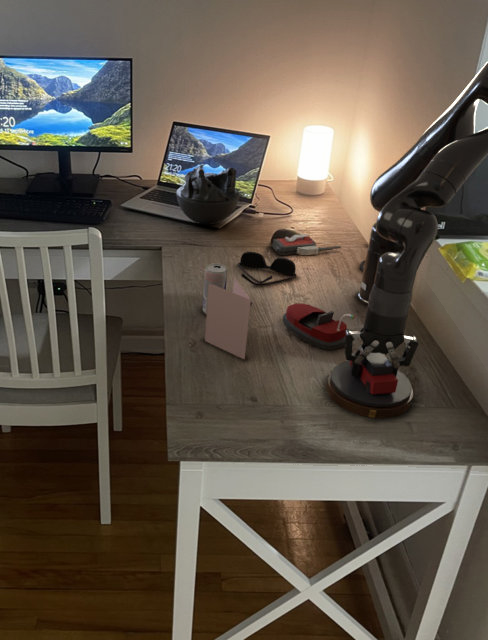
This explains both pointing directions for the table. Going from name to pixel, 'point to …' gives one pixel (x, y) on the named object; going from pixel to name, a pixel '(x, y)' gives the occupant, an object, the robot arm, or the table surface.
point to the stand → (366, 409)
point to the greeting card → (228, 318)
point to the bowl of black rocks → (208, 195)
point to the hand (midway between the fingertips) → (372, 378)
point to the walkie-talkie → (298, 245)
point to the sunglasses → (266, 267)
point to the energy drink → (214, 280)
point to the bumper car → (315, 326)
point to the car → (372, 382)
